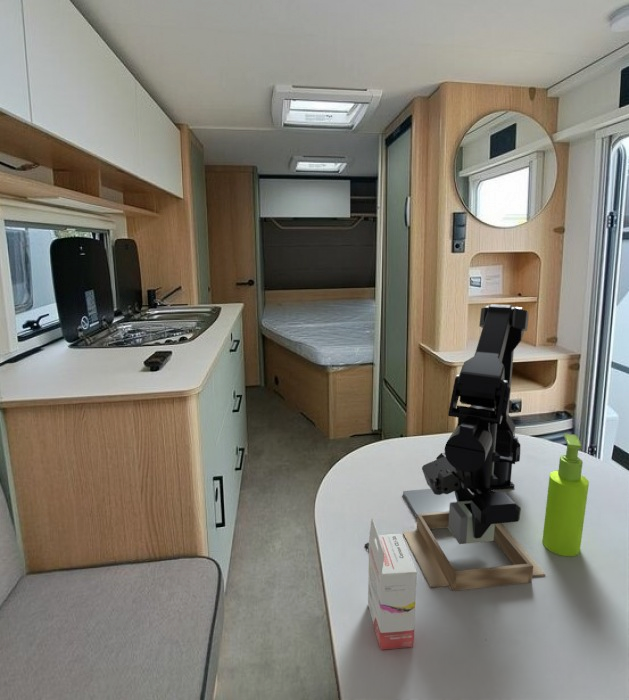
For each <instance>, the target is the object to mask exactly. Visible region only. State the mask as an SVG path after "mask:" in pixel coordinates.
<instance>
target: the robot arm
mask: <svg viewBox="0 0 629 700" xmlns="http://www.w3.org/2000/svg"><path fill="white" fill-rule="evenodd" d="M529 315H530V314H529V312H528V310H524V309H523V307H522V306H520V307H519V306H512V305H510V304H495V303H494V304H489V305H486V306H485V307H481V309H480V316H479V317H480V318H479V325H478V327H480V328H481V329H482V330H481V333H480V336H479V339H478V343H477V346H476V350H475V353H474V355H473V356H472V357H470V358H469V359H467V360H465V361H464V362H463V364H462V367H461V369H460V373H459V374H456V376H455V378H454V383H453V388H452V393H451V399H450V402H449V408H448V413H447V414H448V417H454V418H457V425H456V427H455V428H454V429H453V431H452V433H451V435H450V436H449V438H448V439H447V442H446V443H445V446H444V452H441V453H440V454H438V456H437V457H435V458H436V459H435V460H432V461H430V462H428V463H425V464H423V466H422V467H421V470H422V473H423V476H424V479H425V481H426V485H428V487H429V489H432V491H433V493H434V494H436V495H441V494H443V493H444V494H449V493H451V492H455V496H456V500H457V502H462V501H471V503H466V504H464V505H465V506H466V508H467V509H468V510H469V511H470V513H471V514H472V524H473V534H474V538H481V537H482V536H483V534H484V533H485V532H486V530H487V529H488V528H489V526H490V525H491V524H498V523H502V524H506V523H517V522H519V521H520V517H521V507H520V506H519V505H518V504H517V503H516V502H515V500H513V499H512V498H511V497H510V496H509V495H508V494H507V493H506V492H505V491H494V490H499V489H501V490H502V489H510V488H511V489H512V488H515V487H516V486H515V484H514V483H513V481H511V480H512V472H513V471H512V469H513V465H515V464H516V463H517V462H520V460H521V443H520V442H519V437H518V436H516V425H515V422H514V421H513V419H512V418H511V416H510V414H509V413H510V402H511V401H510V400H511V391H512V389H511V387H512V377H513V376H512V375H513V366H514V351H515V349H516V348H517V346H518V345H519V344H520V343H521V341H522V340H523V337H524V333H525V332H527V331H528V326H529V319H530V318H529ZM458 402H459V403H460V404H461V405H459V404H458ZM465 405H466V406H465ZM467 405H468V406H467Z"/></svg>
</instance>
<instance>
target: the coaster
mask: <svg viewBox="0 0 629 700" xmlns="http://www.w3.org/2000/svg"><path fill="white" fill-rule="evenodd" d="M402 495H403V497H404V499H405V500H406V502H407V503H408V505H409V507H410V509H411V511H412V512H413V514H414V516H415V518H416V519H417V514H425V513H436V512H447V511H449V508H450V502H457V500H456V496H455V492H451V493H449V494H444V493H443V494H441V495H436V494H434V493H433V491H432V489H431V488H425V489H424V488H423V489H412V490H403V491H402Z"/></svg>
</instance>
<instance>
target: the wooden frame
mask: <svg viewBox="0 0 629 700" xmlns="http://www.w3.org/2000/svg"><path fill="white" fill-rule="evenodd" d="M448 526H449V511H447V512H436V513H425V514H417V518H416V529H417V530H409V531H402V534H403V536H404V538H405V540H406V541H407V544H408V546H409V548H410V550H411V552H412V555H413V556H414V558H415V560H416V562H417V563H418V566H419V568H420V570H421V571H422V574H423V576H424V578H425V579H426V582H427V584H428V585H429V588H432V589H433V588H441V587H442V588H443V587H449V588H450V591H451V592H455V591H464V590H473V589H481V588H492V587H498V586H499V587H500V586H509V585H518V584H526V583H532V581H533V578H534V577H543V576H546V573H545V571H544V570H543V569H542V568H541V567H540V566H539V564H538V563H537V562H536V561H535V560H534V558H533V557H531V556H530V554H529V553H528V551H526V550H525V548H524V547H523V546H522V545H521V544H520V543H519V542H518V540H517V539H516V538H515V537H514V536H513V534H511V532H510V531H509V530H508V529H507V528H506V527H505V526H504V523H498V524H495V528H494V540H493V541H495V543H496V544H497V546H498V547H499V548H500V549H501V550H502V552H503V553H504V554H505V555H506V557H507V558H508V559H509V560H510V562H511V565H510V564H509V565H502V566H492V567H491V566H490V567H483V568H474V569H473V568H472V569H464V570H455V569H454V568H453V566H452V564H451V562H450V560H449V559H448V557H447V556H446V554H445V552H444V551H443V549H442V548H441V546H440V544H439V542H438V541H437V539H436V537H435V536H434V534H433V533H432V531H431V530H433V529H445V528H448Z"/></svg>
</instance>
